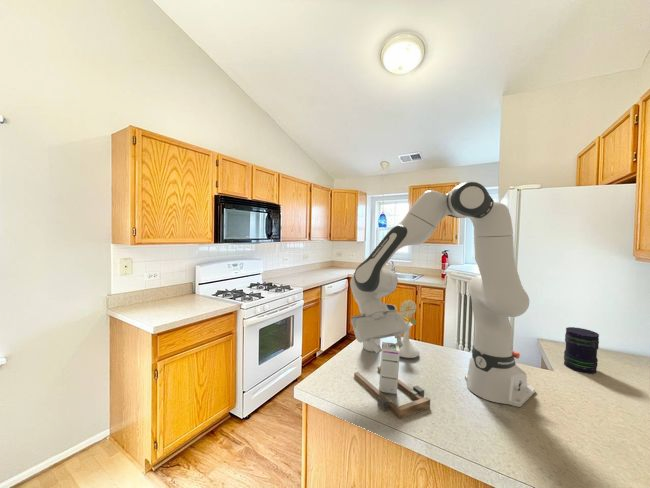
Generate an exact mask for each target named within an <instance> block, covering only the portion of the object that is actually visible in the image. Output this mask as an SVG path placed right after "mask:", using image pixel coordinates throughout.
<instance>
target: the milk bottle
mask: <svg viewBox="0 0 650 488" xmlns="http://www.w3.org/2000/svg"><path fill="white" fill-rule="evenodd" d="M374 342H375V343H376V344H377V345H378V346H379V345H380V346H381V339H376V340H375V341H374ZM362 348H363V350H365V351H367V352H372V353H373V352H375V349H374V348H373V347H372V346H371V345H370V344H369V343H368V341H366V342H362ZM375 353H376V352H375Z"/></svg>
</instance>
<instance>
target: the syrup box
mask: <svg viewBox="0 0 650 488" xmlns="http://www.w3.org/2000/svg"><path fill="white" fill-rule="evenodd" d="M381 345H382V346H381V349H382V351H381V355H380V356H381V357H380V366H381V367H380V366H379V367H380V372H379V382H378V383H379V388H378V390H379V391H380V392H381V393H382V392H383V393H387V394H393V395H397V393H398V386H397V385H398V379H399V368H400V356H399V355H400V350H399V345H398V344H396V343H394V342H384V341H383V342H382V344H381Z"/></svg>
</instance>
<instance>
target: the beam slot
mask: <svg viewBox="0 0 650 488" xmlns="http://www.w3.org/2000/svg"><path fill="white" fill-rule="evenodd" d="M380 367H381V365H380V366H377V371H378V373H380ZM354 378H355V379H356V380H357V381H358V382H359V383H361V385H363V387H365V388H366V390H368V391H369V392H370V393H371V394H372V395H373V396H374V397H375V398H376V399H377V406H378V408H380V409H381V410H382V411H383V412H386V411H388V410H389V411H390V412H391V413H392V414H393V415H394V416H396V417H397V418H398V419H399V420H401V419H403V418H405V417H408V416H411V415H414V414H416V413H418V412H419V413H420V412H422V411H424V410H427V409H430V408H431V398H429V397H427V396H426V397H425V389H424V388H422V387H420V386H419V385H414V386H412V388H413V389H412V388H411V387H410V386H409V385H407V384H405V383H404V382H403V381H401V380H400V379H399V378H398V385H397V388H399V389H400V390H401V391H403V392H404V393H405V394H407V395H408V396H409V397H411V398H412V399H413V400H414V401H410V402H407V403H405V404H402V405H398V406H397V405H396V404H395V403H394V402H393V401H392V400H391V399H390V398H389V397H387V396H386V395H385V394H384V393H382V391H380V390H379V388H377V387H375V386H374V384H372V383H371V382H370V381H368V379H367V378H366V377H365V376H363V374H361V373H360V372H358V371H356V372H354Z"/></svg>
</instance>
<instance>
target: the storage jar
mask: <svg viewBox="0 0 650 488" xmlns="http://www.w3.org/2000/svg"><path fill="white" fill-rule="evenodd" d="M564 335H565V336H564V343H565V350H564V352H563V354H564V355H563V365H564V367H566V368H568V369H570V370H572V371H575V372H578V373H581V374H586V375H587V374H588V375H595V374H596V373H597V369H598V368H597V367H598V361H599V360H598V350H599V347H600V346H599V343H600V339H599V337H600V334H599V333H598V332H595V331H593V330H590V329H586V328H582V327H575V326H573V327H572V326H571V327H570V326H569V327H567V326H566V328H565V334H564Z"/></svg>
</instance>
